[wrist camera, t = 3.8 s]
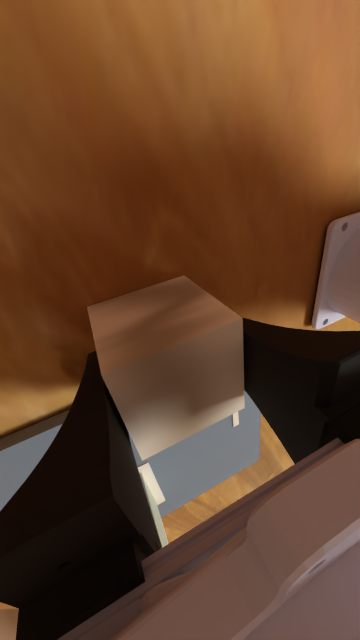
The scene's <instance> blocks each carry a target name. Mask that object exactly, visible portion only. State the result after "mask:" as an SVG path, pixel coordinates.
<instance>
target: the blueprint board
mask: <svg viewBox="0 0 360 640" xmlns="http://www.w3.org/2000/svg"><path fill="white" fill-rule="evenodd" d="M244 401H245V408H243V409H242V410H240V411H238V412H236V413H234V414H232V415H230V416H228V417H226V418H224V419H222V420H220V421H218V422H216V423H215V424H213V425H211V426H209V427H207V428H205V429H203V430H201V431H199V432H197V433H195V434H193V435H191V436H189V437H188V438H186V439H184V440H182V441H180V442H178V443H176V444H174V445H172V446H170V447H168V448H166V449H164V450H162V451H160V452H159V453H157V454H155V455H153V456H151V457H149V458H147V459H145V460H143V461H142V459H141V457H140V455H139V453H138V451H137V449H136V447H135V444H134V442H133V440H132V438H131V436H130V434H129V437H130V442H131V446H132V450H133V454H134V457H135V460H136V464H137V467H138V471H139V473H142V475H143V477H144V479H145V481H146V483H147V485H148V487H149V489H150V491H151V493H152V495H153V497H154V498H155V500H156V503H157V506H158V510H159V513H160V516H161V518H162V517H164V516H166V515H167V514H169V513H171V512H172V511H174V510H176V509H177V508H179V507H181V506H183V505H184V504H186V503H188V502H189V501H191V500H193V499H194V498H196V497H198V496H199V495H201V494H203V493H204V492H206V491H208V490H209V489H211V488H213V487H215V486H216V485H218V484H220V483H221V482H223V481H225V480H226V479H228V478H230V477H231V476H233V475H235V474H236V473H238V472H240V471H241V470H243V469H245V468H246V467H248V466H250V465H252V464H253V463H255V462H257V461H258V460H259V447H260V420H261V412H260V410H259V409H258V408H257V406H256V405H255V403H254V402H253V401H252V399H251V398H250V397H249V395H248V394H247V393H246V391H245V390H244ZM69 410H70V409H69ZM69 410H67V411H64V412H62V413H60V414H57V415H55V416H53V417H50V418H48V419H46V420H43V421H41V422H39V423H36V424H34V425H32V426H29V427H27V428H24V429H22V430H20V431H17V432H15V433H13V434H10V435H8V436H6V437H3V438H1V439H0V511H1V510H2V509H3V507H4V506H5V505H6V504H7V502H8V501H9V500H10V499H11V498H12V496H13V495H14V494H15V493H16V491H17V490H18V489H19V488H20V486H21V485H22V484H23V483H24V481H25V480H26V479H27V478H28V476H29V475H30V474H31V472H32V471H33V469H34V468H35V467H36V465H37V464H38V463H39V461H40V460H41V458H42V457H43V455H44V454H45V453H46V451H47V450H48V448H49V446H50V445H51V443H52V441H53V440H54V438H55V436H56V435H57V433H58V431H59V430H60V428H61V426H62V424H63V422H64V420H65V418H66V416H67V414H68V412H69Z"/></svg>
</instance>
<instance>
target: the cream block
mask: <svg viewBox="0 0 360 640" xmlns="http://www.w3.org/2000/svg"><path fill="white" fill-rule="evenodd" d="M87 310H88V314H89V319H90V324H91V328H92V333H93V338H94V342H95V347H96V352H97V357H98V361H99V366H100V371H101V375H102V377H103V379H104V382H105V384H106V386H107V388H108V390H109V392H110V394H111V396H112V398H113V400H114V403H115V405H116V407H117V409H118V411H119V413H120V415H121V417H122V419H123V421H124V423H125V426H126V428H127V430H128V432H129V434H130V436H131V438H132V440H133V442H134V444H135V447H136V449H137V451H138V453H139V455H140V457H141V459H142V461H143V460H145V459H147V458H149V457H151V456H153V455H155V454H157V453H159V452H160V451H162V450H164V449H166V448H168V447H170V446H172V445H174V444H176V443H178V442H180V441H182V440H184V439H186V438H188V437H189V436H191V435H193V434H195V433H197V432H199V431H201V430H203V429H205V428H207V427H209V426H211V425H213V424H215V423H216V422H218V421H220V420H222V419H224V418H226V417H228V416H230V415H232V414H234V413H236V412H238V411H240V410H242V409H243V408H245V401H244V354H243V318H242V317H241V316H239V315H238V314H237V313H235V312H234V311H232V310H231V309H230V308H228V307H227V306H226V305H224V304H223V303H222V302H220V301H219V300H218V299H216V298H215V297H213V296H212V295H211V294H209V293H208V292H207V291H205V290H204V289H203V288H201V287H200V286H199V285H197V284H196V283H194V282H193V281H192V280H190V279H189V278H188V277H186V276H185V275H183V276H180V277H177V278H173V279H170V280H167V281H164V282H161V283H158V284H155V285H152V286H149V287H146V288H143V289H140V290H137V291H134V292H131V293H127V294H124V295H121V296H118V297H115V298H112V299H109V300H106V301H103V302H100V303H97V304H94V305H91V306H88V307H87Z"/></svg>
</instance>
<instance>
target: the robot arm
mask: <svg viewBox="0 0 360 640" xmlns="http://www.w3.org/2000/svg"><path fill="white" fill-rule="evenodd" d="M344 317H348V318H351V319H353V320H355V321H357V322H359V323H360V212H358V213H354V214H351V215H348V216H345V217H342V218H339V219H335V220H334V221H332V222H331V223H330V225H329V226H328V229H327V235H326V241H325V247H324V253H323V259H322V265H321V271H320V277H319V283H318V288H317V294H316V300H315V306H314V312H313V318H312V327H313V328H314V329H316V330H318V329H321V328H323V327H325V326H327V325H329V324H332V323H334V322H336V321H338V320H340V319H342V318H344ZM242 318H243V317H242ZM243 354H244V390H245V391H246V393H247V394H248V395H249V397H250V398H251V399H252V401H253V402H254V403H255V405H256V406H257V408H258V409H259V410H260V412H261V413H262V415H263V416H264V417H265V419H266V420H267V422H268V423H269V425H270V426H271V428H272V429H273V431H274V432H275V434H276V435H277V437H278V438H279V440H280V441H281V443H282V444H283V446H284V447H285V449H286V451H287V452H288V454H289V455H290V457H291V459H292V460H293V462H294V463H295V465H293V466H291V467H290V468H288V469H287V470H285V471H283V472H282V473H280V474H279V475H277V476H276V477H274V478H272V479H271V480H269V481H268V482H266V483H264V484H263V485H261V486H260V487H258V488H256V489H255V490H253V491H252V492H250V493H249V494H247V495H245V496H244V497H242V498H241V499H239V500H237V501H236V502H234V503H233V504H231V505H229V506H228V507H226V508H225V509H223V510H222V511H220V512H218V513H217V514H215V515H214V516H212V517H210V518H209V519H207V520H206V521H204V522H202V523H201V524H199V525H198V526H196V527H195V528H193V529H191V530H190V531H188V532H187V533H185V534H183V535H182V536H180V537H179V538H177V539H175V540H174V541H172V542H171V543H169V544H168V545H166V546H164V547H163V548H162V545H161V541H160V538H159V535H158V532H157V529H156V526H155V523H154V519H153V516H152V513H151V510H150V507H149V503H148V500H147V497H146V494H145V490H144V487H143V484H142V480H141V477H140V474H139V471H138V467H137V464H136V460H135V457H134V454H133V450H132V446H131V442H130V437H129V432H128V430H127V428H126V426H125V423H124V421H123V419H122V417H121V415H120V413H119V411H118V409H117V407H116V405H115V403H114V400H113V398H112V396H111V394H110V392H109V390H108V388H107V386H106V384H105V382H104V379H103V377H102V375H101V371H100V366H99V361H98V357H97V352H96V351H94V352H91V353H89V355H88V358H87V363H86V367H85V370H84V374H83V377H82V380H81V383H80V386H79V389H78V391H77V394H76V396H75V399H74V401H73V404H72V406H71V408H70V410H69V412H68V414H67V416H66V418H65V420H64V422H63V424H62V426H61V428H60V430H59V431H58V433H57V435H56V436H55V438H54V440H53V441H52V443H51V445H50V446H49V448H48V450H47V451H46V453H45V454H44V455H43V457H42V458H41V460H40V461H39V463H38V464H37V465H36V467H35V468H34V469H33V471H32V472H31V474H30V475H29V476H28V478H27V479H26V480H25V481H24V483H23V484H22V485H21V486H20V488H19V489H18V490H17V491H16V493H15V494H14V495H13V496H12V498H11V499H10V500H9V501H8V502H7V504H6V505H5V506H4V507H3V509H2V510H1V511H0V602H2V603H5V604H8V605H11V606H13V607H16V608H19V613H18V623H17V633H16V640H360V331H314V330H303V329H293V328H286V327H280V326H275V325H270V324H265V323H261V322H257V321H253V320H250V319H246V318H243Z"/></svg>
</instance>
